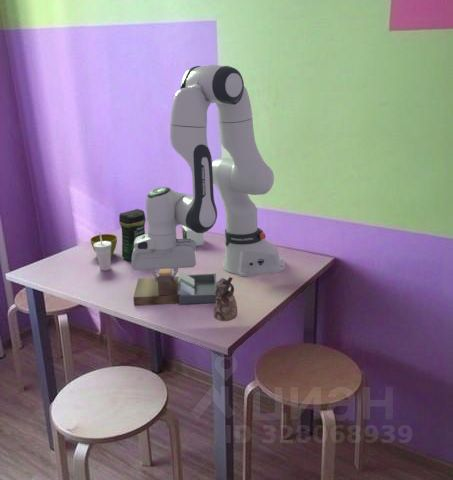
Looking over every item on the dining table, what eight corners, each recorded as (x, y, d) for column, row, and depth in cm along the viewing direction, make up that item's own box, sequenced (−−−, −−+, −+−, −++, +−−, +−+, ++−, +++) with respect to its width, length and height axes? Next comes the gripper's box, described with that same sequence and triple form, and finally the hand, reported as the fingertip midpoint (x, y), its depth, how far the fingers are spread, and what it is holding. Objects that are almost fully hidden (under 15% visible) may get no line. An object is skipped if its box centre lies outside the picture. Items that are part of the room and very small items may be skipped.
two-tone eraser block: (171, 275, 175) (171, 262, 173) (170, 294, 162) (169, 281, 160) (161, 275, 174) (160, 263, 173) (158, 295, 161) (157, 282, 160)
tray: (216, 281, 178) (215, 273, 177) (217, 303, 163) (217, 294, 162) (180, 283, 177) (180, 275, 176) (179, 305, 162) (178, 296, 161)
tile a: (191, 283, 175) (194, 279, 175) (191, 290, 171) (194, 285, 170) (178, 276, 174) (181, 272, 174) (178, 283, 170) (181, 278, 169)
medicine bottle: (182, 241, 215) (181, 213, 211) (199, 239, 217) (198, 211, 213) (186, 247, 209) (185, 219, 205) (204, 245, 211) (202, 216, 206)
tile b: (191, 293, 168) (194, 289, 168) (191, 300, 164) (194, 296, 163) (177, 286, 167) (181, 281, 167) (177, 293, 162) (180, 288, 162)
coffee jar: (131, 263, 195) (126, 215, 189) (119, 258, 200) (114, 211, 194) (152, 255, 201) (148, 209, 195) (139, 251, 207) (135, 206, 200)
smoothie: (106, 263, 195) (102, 228, 190) (117, 267, 191) (114, 231, 187) (92, 269, 191) (88, 233, 186) (103, 273, 187) (99, 236, 182)
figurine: (209, 312, 157) (208, 276, 153) (231, 307, 160) (230, 271, 155) (219, 323, 151) (217, 285, 147) (241, 318, 153) (240, 280, 149)
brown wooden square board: (180, 284, 176) (180, 276, 175) (179, 303, 163) (178, 295, 162) (138, 286, 176) (138, 278, 175) (134, 305, 163) (133, 297, 162)
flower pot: (123, 251, 207) (121, 234, 204) (111, 261, 197) (109, 243, 195) (100, 250, 209) (98, 233, 206) (87, 259, 200) (85, 242, 197)
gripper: (195, 235, 166) (197, 274, 171) (131, 237, 165) (134, 277, 170) (195, 241, 160) (197, 282, 165) (128, 244, 159) (132, 286, 164)
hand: (165, 280), depth 167 cm, fingers closed on two-tone eraser block, 3 cm apart
